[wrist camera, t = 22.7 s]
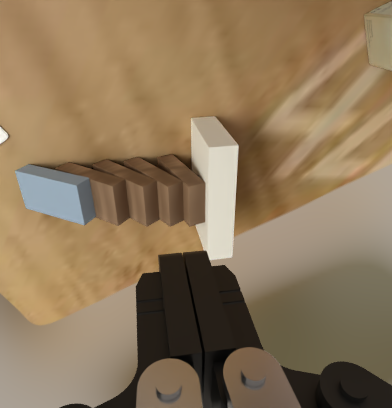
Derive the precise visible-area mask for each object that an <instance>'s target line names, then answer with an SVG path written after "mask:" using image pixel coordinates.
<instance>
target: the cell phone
mask: <svg viewBox="0 0 392 408" xmlns="http://www.w3.org/2000/svg"><path fill="white" fill-rule="evenodd" d="M7 138H8V134H7V132H6V131H5V130H4V129H3V128H2V127H1V126H0V144H1V143H2V142H4V141H5V140H6V139H7Z"/></svg>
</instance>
